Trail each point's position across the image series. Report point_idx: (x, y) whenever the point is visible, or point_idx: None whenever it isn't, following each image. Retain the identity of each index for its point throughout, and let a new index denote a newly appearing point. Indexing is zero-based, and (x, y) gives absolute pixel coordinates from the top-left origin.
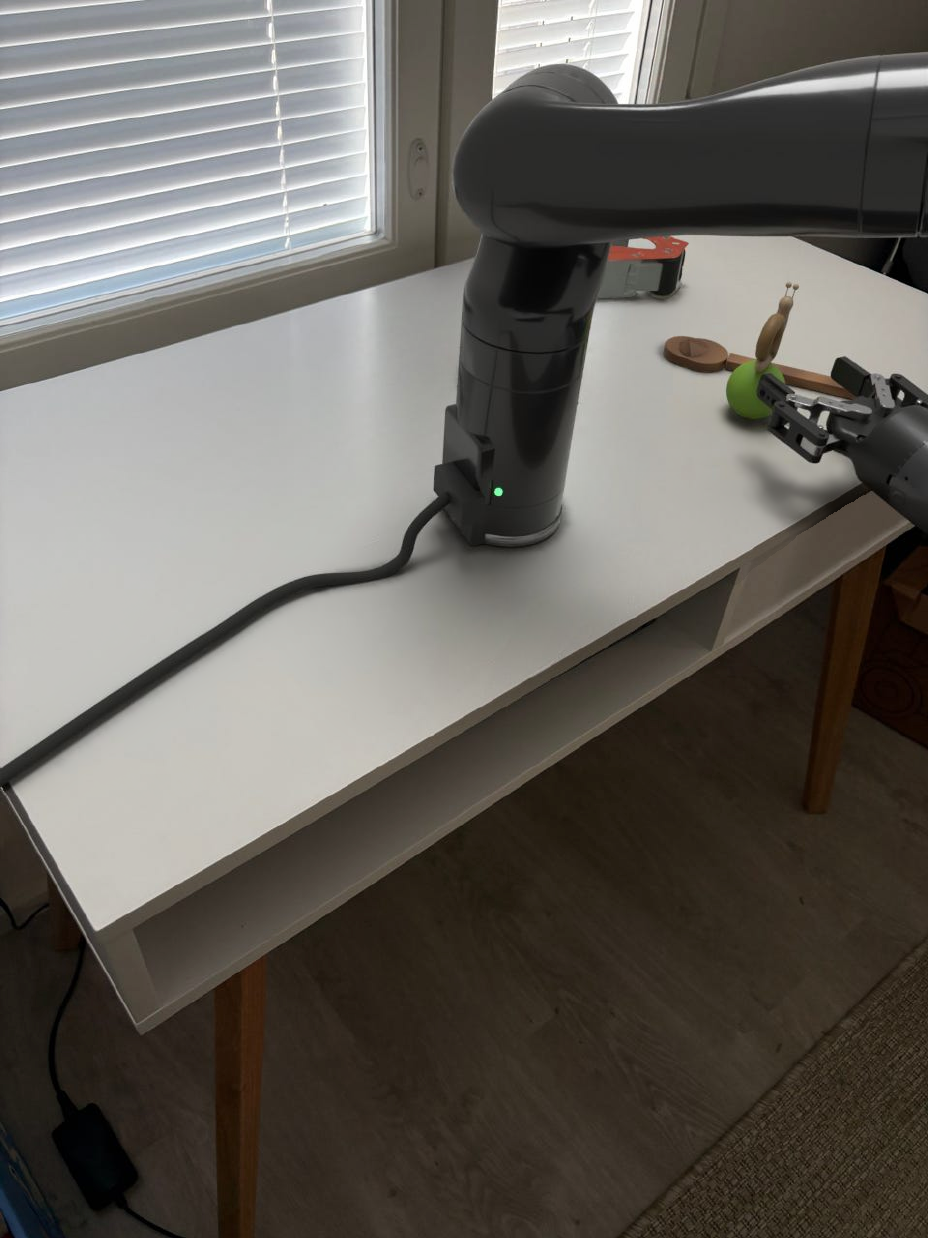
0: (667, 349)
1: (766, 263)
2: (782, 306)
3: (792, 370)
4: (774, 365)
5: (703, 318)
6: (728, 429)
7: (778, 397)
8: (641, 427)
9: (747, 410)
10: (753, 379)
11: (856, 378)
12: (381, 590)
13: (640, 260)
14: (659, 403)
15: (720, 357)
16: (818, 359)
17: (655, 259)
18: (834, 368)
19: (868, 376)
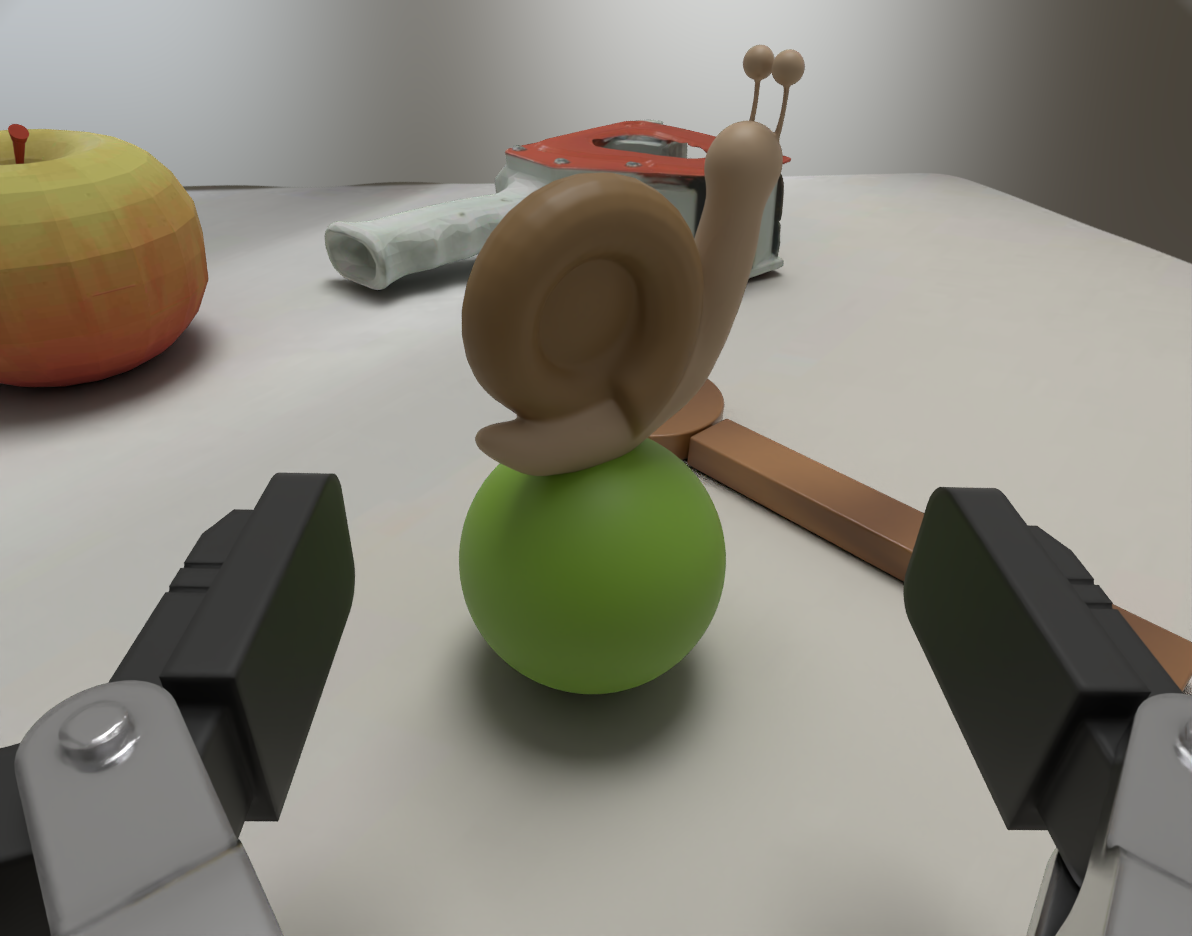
0: None
1: (1048, 269)
2: (707, 169)
3: (906, 520)
4: (848, 488)
5: (769, 335)
6: (425, 702)
7: (117, 679)
8: (123, 590)
9: (490, 645)
10: (506, 507)
11: (1021, 680)
12: None
13: (640, 176)
14: None
15: (676, 424)
16: (1066, 507)
17: (676, 177)
18: (921, 554)
19: (1123, 704)
